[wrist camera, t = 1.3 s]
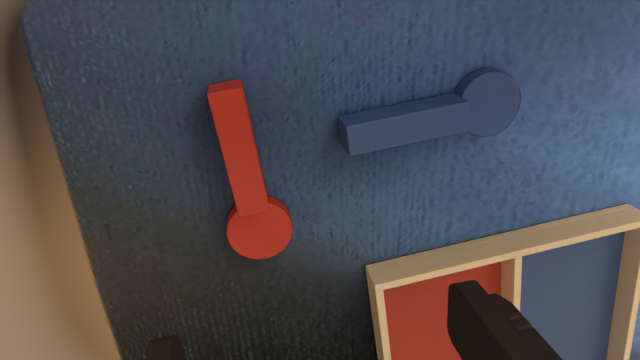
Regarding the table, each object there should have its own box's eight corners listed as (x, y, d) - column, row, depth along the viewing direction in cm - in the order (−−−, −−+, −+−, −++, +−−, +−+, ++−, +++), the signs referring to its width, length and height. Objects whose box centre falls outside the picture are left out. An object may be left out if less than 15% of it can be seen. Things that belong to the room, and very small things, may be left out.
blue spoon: (343, 160, 31) (352, 174, 29) (334, 97, 29) (343, 107, 27) (510, 125, 32) (531, 135, 30) (512, 62, 31) (534, 68, 28)
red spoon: (188, 88, 28) (184, 97, 25) (260, 74, 28) (263, 82, 26) (235, 256, 33) (235, 276, 30) (295, 242, 33) (300, 261, 31)
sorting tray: (364, 265, 35) (374, 285, 33) (627, 203, 37) (654, 217, 35) (386, 424, 42) (395, 450, 40) (603, 365, 44) (624, 386, 42)
